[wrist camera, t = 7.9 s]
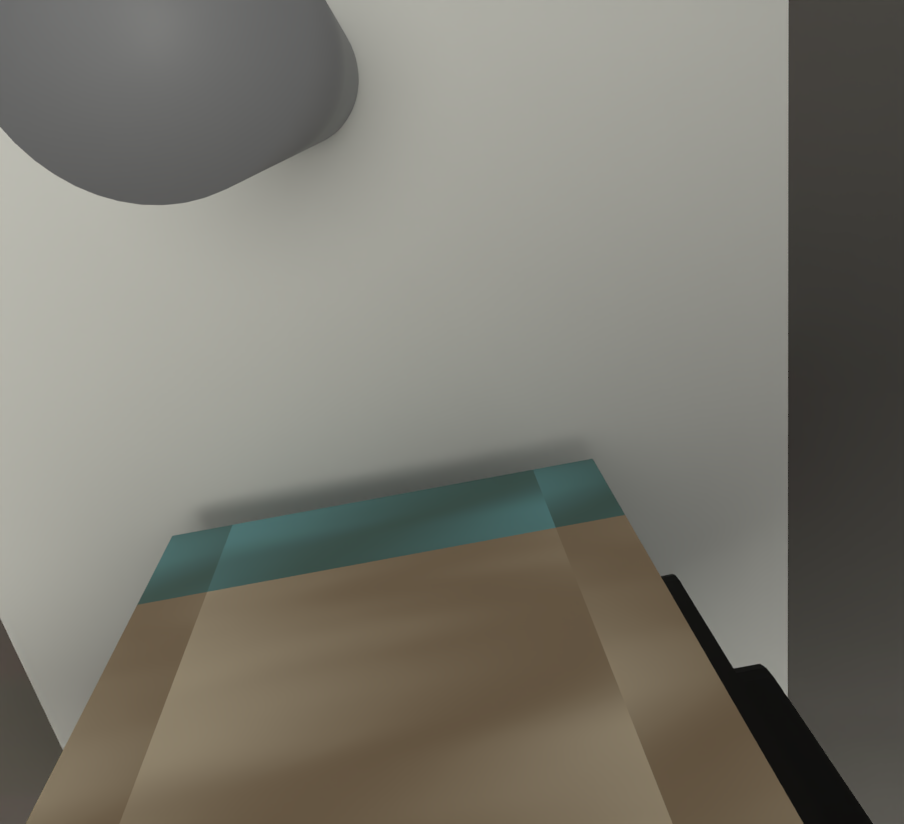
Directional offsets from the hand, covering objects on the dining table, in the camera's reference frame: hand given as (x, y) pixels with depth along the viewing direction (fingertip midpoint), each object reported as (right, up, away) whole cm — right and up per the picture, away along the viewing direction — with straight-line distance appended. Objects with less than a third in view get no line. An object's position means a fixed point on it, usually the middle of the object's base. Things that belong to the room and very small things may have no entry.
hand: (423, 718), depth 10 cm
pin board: (-1, +5, +1) cm, 5 cm away
